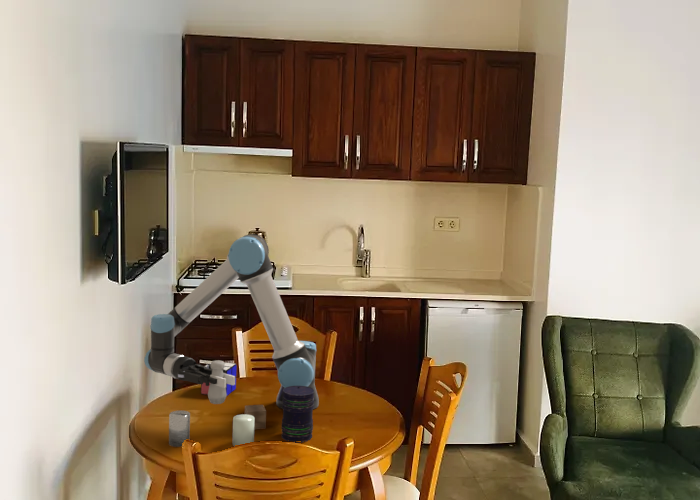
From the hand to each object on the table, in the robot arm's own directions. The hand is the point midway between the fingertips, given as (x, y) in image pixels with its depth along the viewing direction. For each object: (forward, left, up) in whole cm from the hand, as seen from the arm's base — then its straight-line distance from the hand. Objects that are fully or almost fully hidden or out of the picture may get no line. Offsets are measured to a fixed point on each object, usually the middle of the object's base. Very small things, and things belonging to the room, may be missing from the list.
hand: (229, 382), depth 205 cm
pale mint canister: (-5, +3, -18) cm, 19 cm away
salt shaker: (+4, -3, -8) cm, 9 cm away
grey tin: (+14, +4, -18) cm, 23 cm away
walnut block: (-7, -12, -18) cm, 23 cm away
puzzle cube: (+10, -46, -18) cm, 50 cm away
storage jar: (-21, -4, -18) cm, 28 cm away
